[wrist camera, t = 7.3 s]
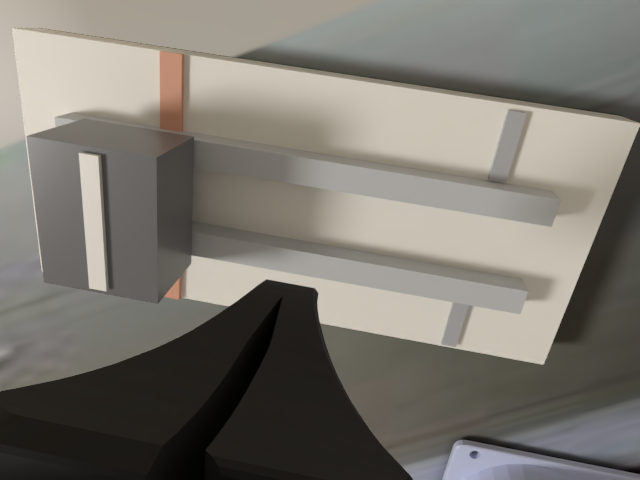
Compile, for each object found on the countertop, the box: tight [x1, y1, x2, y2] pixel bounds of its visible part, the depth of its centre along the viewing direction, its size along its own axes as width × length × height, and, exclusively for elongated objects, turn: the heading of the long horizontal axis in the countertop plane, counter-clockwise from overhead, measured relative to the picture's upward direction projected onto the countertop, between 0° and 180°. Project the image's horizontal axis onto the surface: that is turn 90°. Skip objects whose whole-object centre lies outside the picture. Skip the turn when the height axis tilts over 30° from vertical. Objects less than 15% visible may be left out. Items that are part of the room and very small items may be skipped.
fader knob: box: [26, 119, 194, 304], centre depth 17 cm, size 4×5×4 cm
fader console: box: [12, 28, 640, 365], centre depth 19 cm, size 22×10×2 cm, turn 82°
